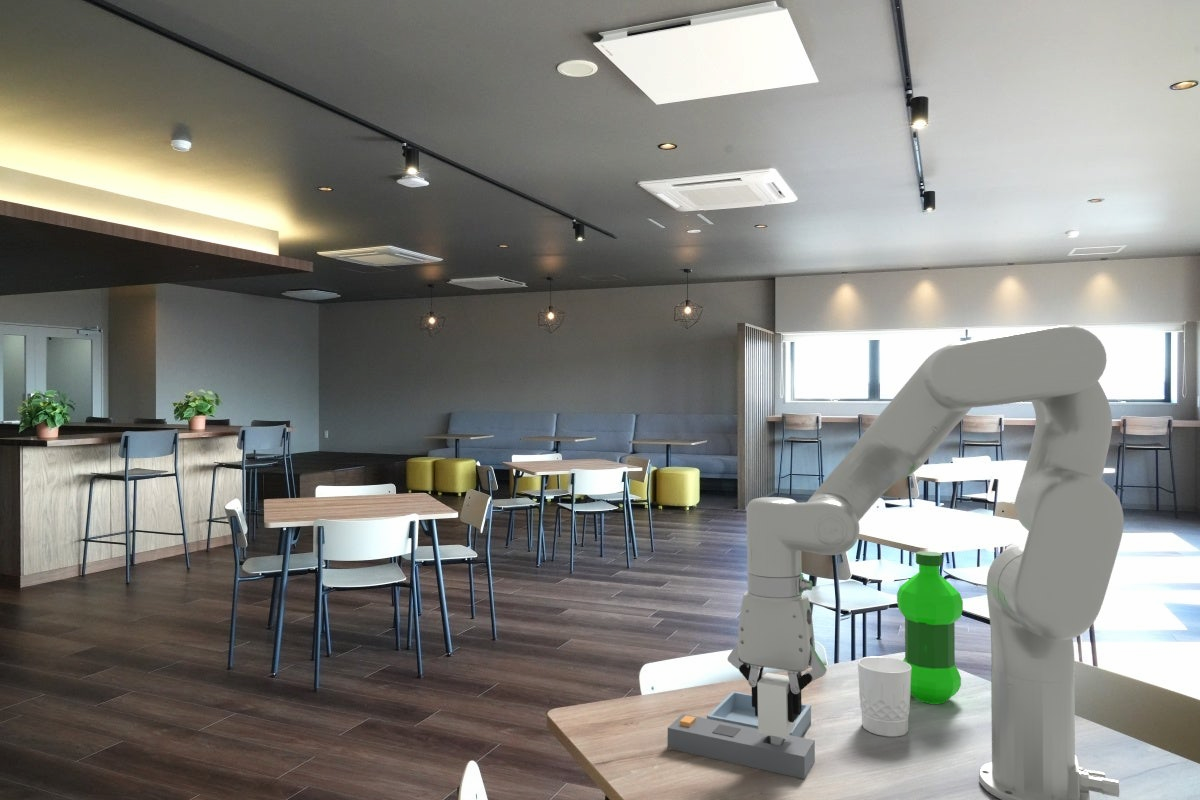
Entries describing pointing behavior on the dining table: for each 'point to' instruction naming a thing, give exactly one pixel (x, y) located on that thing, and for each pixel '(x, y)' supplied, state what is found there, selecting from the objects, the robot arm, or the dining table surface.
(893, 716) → the white cup
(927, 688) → the plastic bottle
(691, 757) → the dining table surface
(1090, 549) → the robot arm
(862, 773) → the dining table surface
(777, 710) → the block
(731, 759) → the strip
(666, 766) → the dining table surface
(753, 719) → the tray
